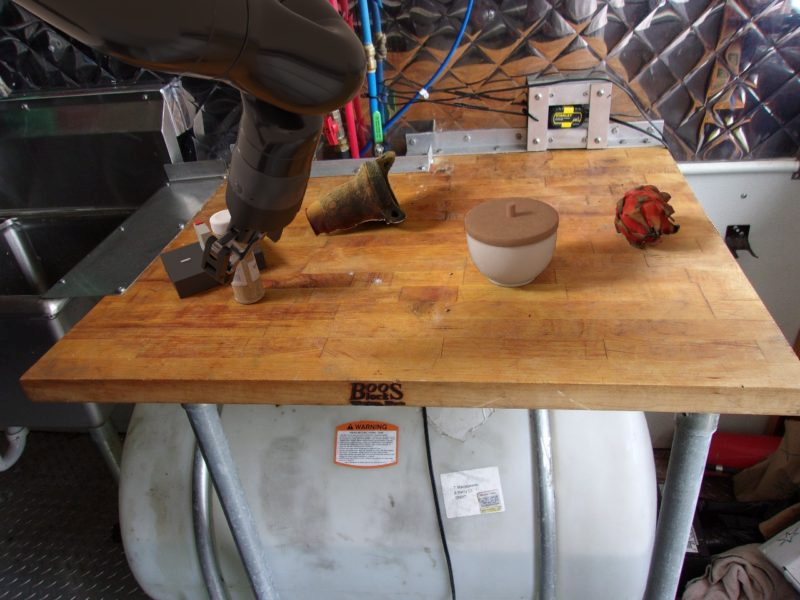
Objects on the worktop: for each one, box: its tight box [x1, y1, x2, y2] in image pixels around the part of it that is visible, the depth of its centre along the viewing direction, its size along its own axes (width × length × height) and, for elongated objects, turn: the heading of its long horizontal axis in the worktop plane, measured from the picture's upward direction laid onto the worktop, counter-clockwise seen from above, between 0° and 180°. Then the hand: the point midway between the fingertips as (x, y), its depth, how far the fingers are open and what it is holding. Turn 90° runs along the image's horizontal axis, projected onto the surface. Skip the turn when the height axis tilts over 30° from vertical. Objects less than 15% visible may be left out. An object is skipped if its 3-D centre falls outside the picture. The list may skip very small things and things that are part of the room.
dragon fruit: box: [613, 184, 681, 250], centre depth 87 cm, size 8×8×12 cm
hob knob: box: [192, 219, 213, 251], centre depth 92 cm, size 5×2×5 cm, turn 30°
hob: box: [159, 240, 268, 299], centre depth 94 cm, size 14×11×3 cm
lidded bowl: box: [464, 196, 560, 288], centre depth 81 cm, size 13×13×11 cm
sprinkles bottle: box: [209, 208, 266, 305], centre depth 83 cm, size 5×5×13 cm
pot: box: [304, 150, 408, 237], centre depth 102 cm, size 17×11×18 cm
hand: (248, 257), depth 71 cm, fingers open, 8 cm apart
